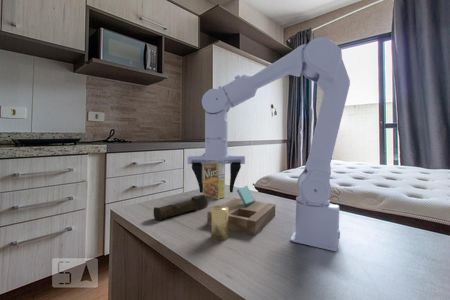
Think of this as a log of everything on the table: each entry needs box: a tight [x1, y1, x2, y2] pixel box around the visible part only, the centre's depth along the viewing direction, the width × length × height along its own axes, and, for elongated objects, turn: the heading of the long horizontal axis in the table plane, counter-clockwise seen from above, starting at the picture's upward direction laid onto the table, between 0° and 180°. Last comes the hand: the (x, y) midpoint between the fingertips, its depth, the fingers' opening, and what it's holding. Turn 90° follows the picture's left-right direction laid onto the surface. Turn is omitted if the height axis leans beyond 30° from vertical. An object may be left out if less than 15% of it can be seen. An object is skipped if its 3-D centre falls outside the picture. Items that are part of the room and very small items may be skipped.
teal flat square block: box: [236, 185, 256, 207], centre depth 67 cm, size 6×6×1 cm
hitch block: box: [206, 197, 276, 236], centre depth 64 cm, size 14×16×4 cm
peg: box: [210, 205, 229, 242], centre depth 52 cm, size 4×4×7 cm
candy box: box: [202, 160, 226, 200], centre depth 88 cm, size 9×4×15 cm, turn 49°
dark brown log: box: [153, 194, 209, 222], centre depth 69 cm, size 19×4×5 cm, turn 132°
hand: (216, 191), depth 57 cm, fingers open, 7 cm apart
